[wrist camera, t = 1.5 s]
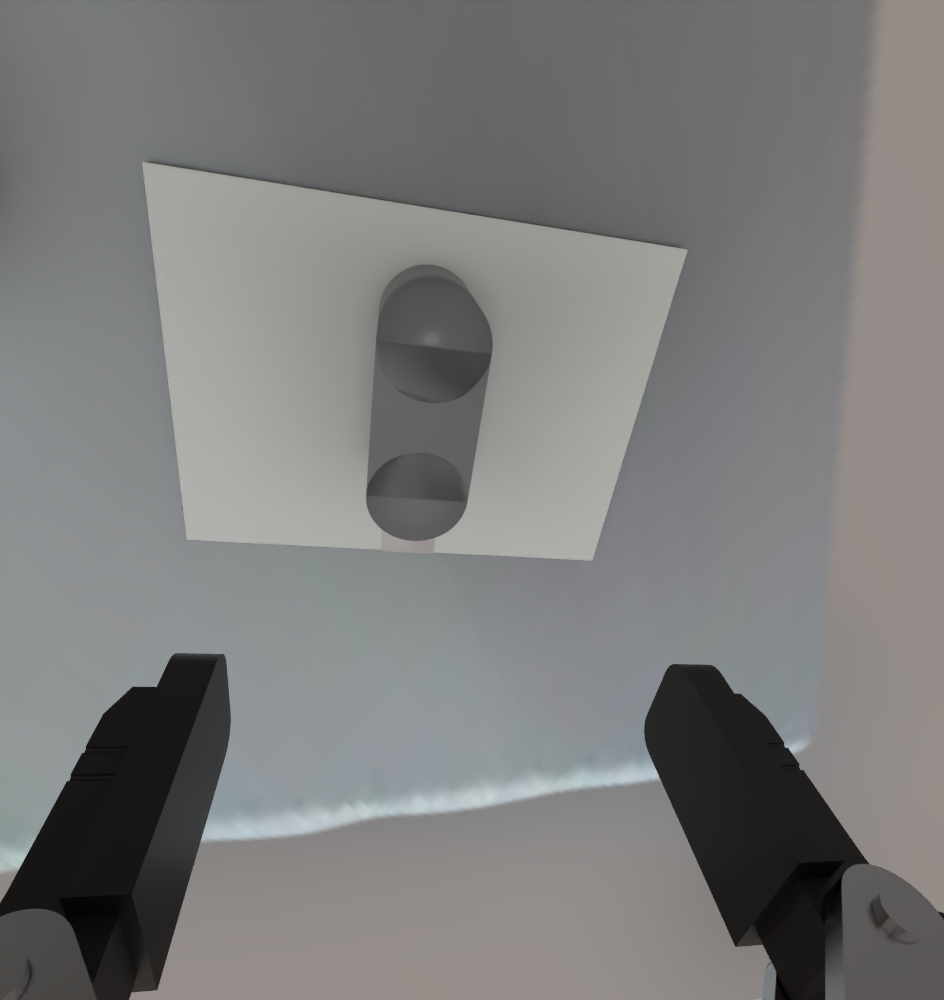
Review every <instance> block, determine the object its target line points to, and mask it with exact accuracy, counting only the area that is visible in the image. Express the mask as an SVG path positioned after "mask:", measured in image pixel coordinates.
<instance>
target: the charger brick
mask: <svg viewBox="0 0 944 1000" xmlns="http://www.w3.org/2000/svg"><path fill="white" fill-rule="evenodd" d="M492 349H493V339H492V333H491V329H490V325H489V323H488V320H487V318H486V316H485V315H484V313H483V311H482V310H481V308H480V307H479V305H478V304H477V302H476V301H475V299H474V298H473V296H472V295H471V293H470V292H469V290H468V288H467V287H466V285H465V284H464V283H463V282H462V280H461V279H460V278H458V277H457V276H456V275H455V274H454V273H452V272H451V271H449V270H447V269H445V268H442V267H439V266H435V265H417V266H413V267H410V268H407V269H405V270H404V271H402V272H400V273H399V274H398V275H396V276H395V277H394V278H393V279H392V280H391V281H390V283H389V284H388V285H387V287H386V289H385V290H384V292H383V295H382V297H381V301H380V307H379V316H378V325H377V335H376V348H375V363H374V379H373V395H372V410H371V426H370V441H369V457H368V473H367V488H366V504H367V508H368V511H369V514H370V516H371V518H372V519H373V521H374V522H375V523H376V524H377V525H378V527H380V528H381V529H382V536H381V551H385V552H404V553H424V554H433V552H434V545H435V538H436V537H439V536H441V535H443V534H445V533H446V532H448V531H449V530H450V529H452V528H453V527H454V526H455V525H456V524H457V523H458V522H459V520H460V519H461V518H462V516H463V514H464V512H465V509H466V506H467V502H468V496H469V490H470V484H471V478H472V472H473V466H474V460H475V454H476V448H477V442H478V435H479V429H480V423H481V417H482V411H483V405H484V399H485V393H486V387H487V381H488V375H489V369H490V363H491V357H492Z"/></svg>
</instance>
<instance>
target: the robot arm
mask: <svg viewBox="0 0 944 1000" xmlns="http://www.w3.org/2000/svg"><path fill="white" fill-rule="evenodd" d="M230 724H231V714H230V701H229V689H228V677H227V665H226V658H225V656H224V654H187V653H175V654H174V655H173V656H172V657H171V658H170V660H169V662H168V664H167V666H166V668H165V670H164V673H163V675H162V677H161V679H160V681H159V683H158V686H157V687H132V688H131V689H130V690H129V691H128V692H127V693H126V694H125V695H123V696H122V697H121V698H120V699H119V700H118V701H117V702H116V703H115V704H114V705H113V706H112V707H111V708H109V709H108V710H107V711H106V712H105V713H104V714H103V716H102V718H101V720H100V721H99V723H98V725H97V727H96V729H95V731H94V732H93V734H92V736H91V738H90V740H89V742H88V744H87V745H86V750H85V753H82V755H81V756H80V758H79V760H78V762H77V764H76V766H75V767H74V769H73V771H72V773H71V778H70V781H67V782H66V784H65V786H64V788H63V790H62V791H61V793H60V795H59V797H58V799H57V801H56V803H55V804H54V806H53V808H52V810H51V812H50V814H49V815H48V817H47V819H46V821H45V823H44V825H43V827H42V828H41V830H40V832H39V834H38V836H37V838H36V839H35V841H34V843H33V845H32V847H31V849H30V850H29V852H28V854H27V856H26V858H25V860H24V862H23V863H22V865H21V867H20V869H19V871H18V873H17V874H16V876H15V878H14V880H13V882H12V884H11V886H10V887H9V889H8V891H7V893H6V895H5V896H4V898H3V899H2V901H1V903H0V1000H129V998H130V995H131V992H140V991H153V990H157V989H158V985H159V982H160V979H161V975H162V971H163V968H164V965H165V961H166V958H167V954H168V951H169V947H170V944H171V940H172V937H173V934H174V930H175V927H176V923H177V920H178V917H179V913H180V910H181V906H182V903H183V899H184V896H185V893H186V889H187V886H188V882H189V879H190V875H191V872H192V869H193V865H194V862H195V858H196V855H197V851H198V848H199V845H200V841H201V838H202V834H203V831H204V827H205V824H206V821H207V817H208V814H209V810H210V807H211V803H212V800H213V796H214V793H215V790H216V786H217V783H218V779H219V776H220V772H221V769H222V766H223V762H224V759H225V755H226V751H227V747H228V741H229V734H230ZM644 732H645V741H646V746H647V749H648V752H649V754H650V757H651V759H652V761H653V763H654V766H655V768H656V770H657V772H658V775H659V777H660V779H661V781H662V783H663V786H664V788H665V790H666V792H667V795H668V797H669V799H670V801H671V803H672V806H673V808H674V810H675V813H676V815H677V817H678V819H679V822H680V824H681V825H682V828H683V830H684V833H685V835H686V837H687V839H688V842H689V844H690V846H691V848H692V850H693V853H694V855H695V857H696V859H697V862H698V864H699V866H700V868H701V871H702V873H703V875H704V877H705V880H706V882H707V884H708V886H709V888H710V891H711V893H712V895H713V898H714V900H715V902H716V904H717V906H718V909H719V911H720V913H721V916H722V918H723V920H724V922H725V924H726V927H727V929H728V931H729V933H730V936H731V938H732V940H733V942H734V945H735V946H736V947H740V946H752V945H763V946H764V948H765V950H766V952H767V954H768V956H769V958H770V960H771V961H770V962H769V963H768V965H767V967H766V970H765V975H764V986H763V998H762V1000H944V913H941V912H938V911H937V910H936V909H935V908H934V907H933V905H932V904H931V903H930V902H929V901H928V900H927V899H926V898H925V897H924V896H923V895H922V894H921V893H920V892H919V891H918V890H917V889H915V888H914V887H913V886H912V885H911V884H909V883H908V882H906V881H905V880H904V879H902V878H901V877H899V876H897V875H896V874H894V873H892V872H890V871H888V870H886V869H883V868H881V867H878V866H875V865H870V864H869V863H868V862H867V860H866V859H865V858H864V856H863V855H862V854H861V853H860V851H859V850H858V848H857V847H856V845H855V844H854V842H853V841H852V839H851V838H850V837H849V835H848V834H847V832H846V831H845V830H844V828H843V827H842V825H841V824H840V822H839V821H838V819H837V818H836V817H835V815H834V814H833V812H832V811H831V809H830V808H829V806H828V805H827V803H826V802H825V801H824V799H823V798H822V796H821V795H820V793H819V792H818V791H817V789H816V788H815V786H814V785H813V783H812V782H811V780H810V779H809V778H808V776H807V775H806V773H805V772H804V771H803V770H800V768H799V763H798V762H797V760H796V759H795V757H794V756H793V755H792V753H791V752H790V750H789V749H788V748H785V747H784V742H783V740H782V739H781V737H780V736H779V734H778V733H777V732H776V730H775V729H774V727H773V726H772V724H771V723H770V722H769V720H768V719H767V717H766V716H765V715H764V714H763V713H762V712H760V711H759V710H758V709H757V708H756V707H755V706H754V705H753V704H751V703H750V702H749V701H748V700H747V699H746V698H745V697H744V696H742V695H741V694H734V692H733V691H732V689H731V688H730V686H729V685H728V683H727V682H726V680H725V679H724V677H723V676H722V674H721V673H720V672H719V670H718V669H717V668H715V667H714V666H712V665H687V664H673V665H671V666H669V667H668V669H667V670H666V672H665V675H664V677H663V679H662V682H661V684H660V686H659V689H658V691H657V693H656V696H655V698H654V700H653V703H652V705H651V707H650V709H649V712H648V714H647V717H646V720H645V728H644Z"/></svg>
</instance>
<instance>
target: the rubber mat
mask: <svg viewBox="0 0 944 1000" xmlns="http://www.w3.org/2000/svg"><path fill="white" fill-rule="evenodd" d="M142 164H143V173H144V181H145V190H146V198H147V207H148V215H149V223H150V232H151V240H152V249H153V257H154V266H155V274H156V283H157V291H158V299H159V308H160V316H161V325H162V333H163V342H164V350H165V358H166V367H167V375H168V384H169V392H170V401H171V409H172V418H173V426H174V434H175V443H176V451H177V460H178V468H179V477H180V485H181V493H182V502H183V510H184V519H185V527H186V536H187V540H203V541H222V542H242V543H261V544H281V545H300V546H320V547H339V548H359V549H378V550H381V536H382V529H381V528H380V527H378V525H377V524H376V523H375V522H374V521H373V519H372V518H371V516H370V514H369V511H368V508H367V504H366V488H367V473H368V457H369V441H370V426H371V410H372V395H373V379H374V363H375V348H376V335H377V325H378V316H379V307H380V301H381V297H382V295H383V292H384V290H385V289H386V287H387V285H388V284H389V283H390V281H391V280H392V279H393V278H394V277H395V276H396V275H398V274H399V273H400V272H402V271H404V270H405V269H407V268H410V267H413V266H417V265H435V266H439V267H442V268H445V269H447V270H449V271H451V272H452V273H454V274H455V275H456V276H457V277H458V278H460V279H461V280H462V282H463V283H464V284H465V285H466V287H467V288H468V290H469V292H470V293H471V295H472V296H473V298H474V299H475V301H476V302H477V304H478V305H479V307H480V308H481V310H482V311H483V313H484V315H485V316H486V318H487V320H488V323H489V325H490V329H491V333H492V339H493V349H492V357H491V363H490V369H489V375H488V381H487V387H486V393H485V399H484V405H483V411H482V417H481V423H480V429H479V435H478V442H477V448H476V454H475V460H474V466H473V472H472V478H471V484H470V490H469V496H468V502H467V506H466V509H465V512H464V514H463V516H462V518H461V519H460V520H459V522H458V523H457V524H456V525H455V526H454V527H453V528H452V529H450V530H449V531H448V532H446V533H445V534H443V535H441V536H439V537H436V538H435V545H434V552H437V553H457V554H476V555H496V556H515V557H535V558H554V559H574V560H592V559H593V556H594V553H595V550H596V546H597V543H598V540H599V537H600V533H601V530H602V527H603V524H604V520H605V517H606V514H607V511H608V507H609V504H610V501H611V498H612V494H613V491H614V488H615V485H616V481H617V478H618V475H619V472H620V468H621V465H622V462H623V458H624V455H625V452H626V449H627V445H628V442H629V439H630V436H631V432H632V429H633V426H634V423H635V419H636V416H637V413H638V410H639V406H640V403H641V400H642V397H643V393H644V390H645V387H646V384H647V380H648V377H649V374H650V371H651V367H652V364H653V361H654V358H655V354H656V351H657V348H658V345H659V341H660V338H661V335H662V332H663V328H664V325H665V322H666V319H667V315H668V312H669V309H670V306H671V302H672V299H673V296H674V293H675V289H676V286H677V283H678V280H679V276H680V273H681V270H682V267H683V263H684V260H685V257H686V254H687V249H683V248H678V247H672V246H665V245H659V244H653V243H647V242H641V241H634V240H628V239H622V238H616V237H609V236H603V235H597V234H591V233H585V232H578V231H572V230H566V229H560V228H554V227H547V226H541V225H535V224H529V223H523V222H516V221H510V220H504V219H498V218H492V217H485V216H479V215H473V214H467V213H461V212H454V211H448V210H442V209H436V208H429V207H423V206H417V205H411V204H405V203H398V202H392V201H386V200H380V199H374V198H367V197H361V196H355V195H349V194H343V193H336V192H330V191H324V190H318V189H312V188H305V187H299V186H293V185H287V184H281V183H274V182H268V181H262V180H256V179H249V178H243V177H237V176H231V175H225V174H218V173H212V172H206V171H200V170H194V169H187V168H181V167H175V166H169V165H163V164H156V163H150V162H142Z"/></svg>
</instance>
